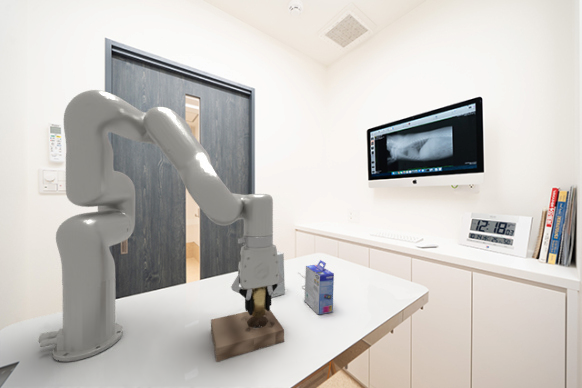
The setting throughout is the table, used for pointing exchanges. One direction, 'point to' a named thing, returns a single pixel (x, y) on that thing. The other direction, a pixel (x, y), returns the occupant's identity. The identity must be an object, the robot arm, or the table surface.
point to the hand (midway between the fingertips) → (258, 309)
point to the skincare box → (281, 287)
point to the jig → (244, 334)
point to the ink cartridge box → (319, 288)
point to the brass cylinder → (259, 301)
